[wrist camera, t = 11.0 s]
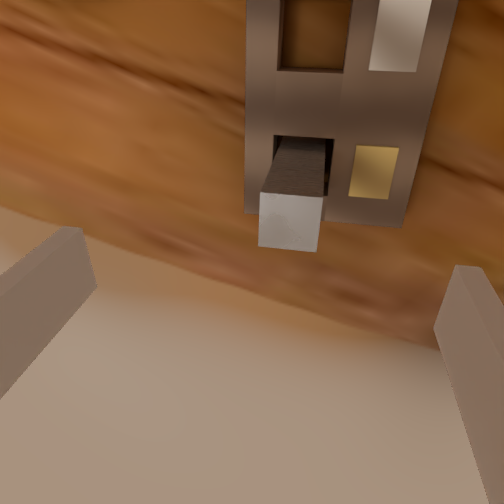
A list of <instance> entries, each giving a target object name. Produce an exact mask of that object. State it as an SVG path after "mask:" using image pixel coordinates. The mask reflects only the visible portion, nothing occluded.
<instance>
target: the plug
mask: <svg viewBox="0 0 504 504" xmlns="http://www.w3.org/2000/svg"><path fill="white" fill-rule="evenodd" d="M325 145H326V138H315V137H300V136H283V138H282V141H281V143H280V146H279V148H278V150H277V153H276V155H275V158H274V160H273V162H272V165H271V167H270V170H269V172H268V174H267V177H266V179H265V182H264V184H263V186H262V189H261V191H260V210H259V241H258V246H261V247H271V248H280V249H290V250H299V251H309V252H316V251H317V243H318V235H319V227H320V219H321V211H322V203H323V190H324V168H325Z"/></svg>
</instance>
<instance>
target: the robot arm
mask: <svg viewBox="0 0 504 504" xmlns="http://www.w3.org/2000/svg"><path fill="white" fill-rule="evenodd" d="M96 288H97V284H96V280H95V276H94V272H93V269H92V265H91V261H90V257H89V253H88V250H87V246H86V242H85V238H84V234H83V230H82V228H77V227H67V226H63V227H61V228H60V229H59V230H58V231H57V232H55V233H54V234H53V235H51V236H50V237H49V238H47V239H46V240H45V241H44V242H42V243H41V244H40V245H39V246H37V247H36V248H35V249H33V250H32V251H31V252H30V253H28V254H27V255H26V256H25V257H23V258H22V259H21V260H20V261H18V262H17V263H16V264H14V265H13V266H12V267H11V268H9V269H8V270H7V271H6V272H4V273H3V274H2V275H0V399H1V398H2V397H3V396H4V394H5V393H6V392H7V391H8V390H9V389H10V387H11V386H12V385H13V384H14V383H15V382H16V381H17V379H18V378H19V377H20V376H21V375H22V374H23V372H24V371H25V370H26V369H27V368H28V366H30V364H31V363H32V362H33V361H34V360H35V359H36V357H37V356H38V355H39V354H40V353H41V352H42V350H43V349H44V348H45V347H46V346H47V345H48V343H49V342H50V341H51V340H52V339H53V337H55V335H56V334H57V333H58V332H59V331H60V330H61V328H62V327H63V326H64V325H65V324H66V323H67V321H68V320H69V319H70V318H71V317H72V316H73V314H74V313H75V312H76V311H77V310H78V309H79V308H80V306H81V305H82V304H83V303H84V302H85V301H86V299H87V298H88V297H89V296H90V295H91V294H92V293H93V291H94V290H95V289H96ZM433 329H434V332H435V335H436V338H437V341H438V344H439V347H440V350H441V354H442V357H443V360H444V363H445V366H446V369H447V372H448V376H449V379H450V382H451V385H452V388H453V391H454V394H455V398H456V400H457V403H458V407H459V410H460V413H461V416H462V420H463V422H464V426H465V429H466V432H467V435H468V438H469V441H470V445H471V448H472V451H473V454H474V457H475V460H476V463H477V467H478V470H479V473H480V476H481V479H482V482H483V485H484V488H485V492H486V495H487V498H488V501H489V504H504V306H503V304H502V303H501V301H500V299H499V297H498V296H497V294H496V292H495V291H494V289H493V287H492V285H491V284H490V282H489V280H488V279H487V277H486V275H485V273H484V272H483V270H482V268H481V267H473V266H463V265H455V268H454V270H453V273H452V276H451V279H450V282H449V285H448V288H447V291H446V293H445V296H444V299H443V302H442V305H441V308H440V311H439V313H438V316H437V319H436V322H435V325H434V328H433Z"/></svg>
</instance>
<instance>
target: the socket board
mask: <svg viewBox="0 0 504 504" xmlns="http://www.w3.org/2000/svg"><path fill="white" fill-rule="evenodd" d="M458 1H459V0H351V7H350V15H349V22H348V30H347V38H346V46H345V53H344V61H343V69H327V68H301V67H281V63H282V44H283V26H284V7H285V0H246V87H245V189H244V213H246V214H257V215H259V210H260V191H261V189H262V186H263V184H264V182H265V179H266V177H267V174H268V172H269V170H270V167H271V165H272V162H273V160H274V158H275V155H276V153H277V138H278V135H284V136H300V137H315V138H331V139H333V146H332V154H331V162H330V169H329V177H328V183H324V190H323V203H322V211H321V219H320V221H330V222H341V223H351V224H362V225H373V226H383V227H394V228H402V224H403V220H404V216H405V212H406V208H407V204H408V200H409V196H410V192H411V188H412V184H413V180H414V176H415V172H416V168H417V164H418V160H419V156H420V152H421V148H422V144H423V140H424V136H425V132H426V128H427V124H428V120H429V116H430V112H431V108H432V104H433V101H434V97H435V93H436V89H437V85H438V81H439V77H440V73H441V69H442V65H443V61H444V57H445V53H446V49H447V45H448V41H449V37H450V33H451V29H452V25H453V21H454V17H455V13H456V9H457V5H458Z"/></svg>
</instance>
